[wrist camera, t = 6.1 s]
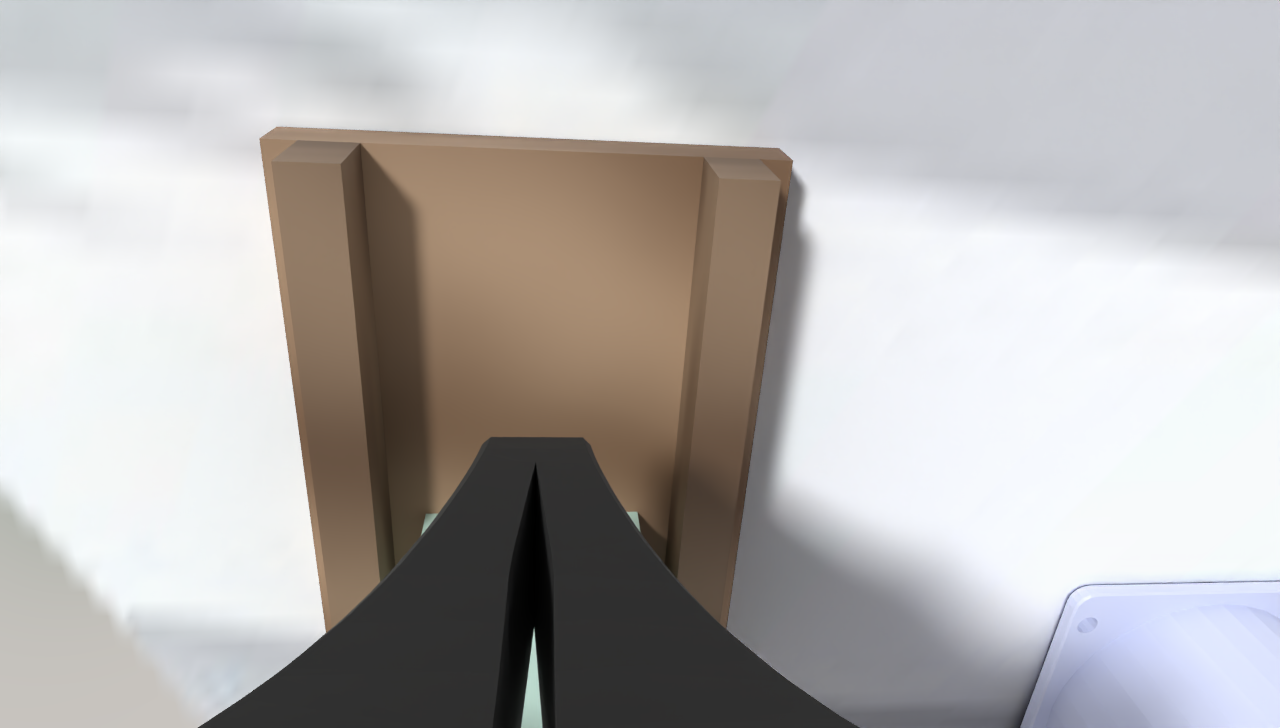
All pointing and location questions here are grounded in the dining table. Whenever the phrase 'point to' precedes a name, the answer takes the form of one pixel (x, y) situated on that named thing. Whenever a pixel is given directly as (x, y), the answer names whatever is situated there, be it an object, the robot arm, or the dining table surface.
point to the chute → (522, 328)
